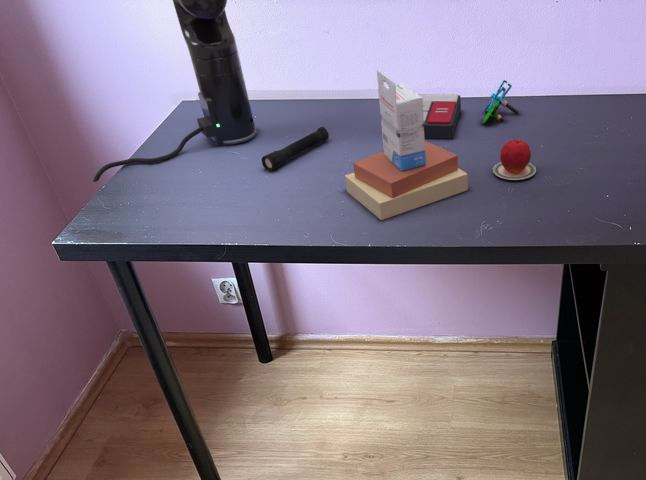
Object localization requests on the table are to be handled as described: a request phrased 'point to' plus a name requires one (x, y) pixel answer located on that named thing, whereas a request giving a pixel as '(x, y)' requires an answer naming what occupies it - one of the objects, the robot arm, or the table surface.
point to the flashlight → (294, 149)
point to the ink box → (401, 124)
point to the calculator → (440, 114)
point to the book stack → (405, 182)
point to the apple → (515, 161)
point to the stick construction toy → (498, 104)
